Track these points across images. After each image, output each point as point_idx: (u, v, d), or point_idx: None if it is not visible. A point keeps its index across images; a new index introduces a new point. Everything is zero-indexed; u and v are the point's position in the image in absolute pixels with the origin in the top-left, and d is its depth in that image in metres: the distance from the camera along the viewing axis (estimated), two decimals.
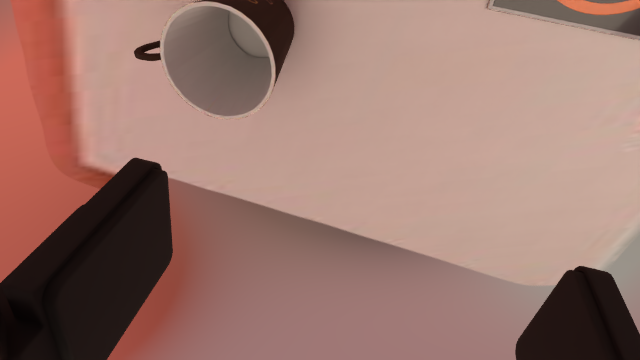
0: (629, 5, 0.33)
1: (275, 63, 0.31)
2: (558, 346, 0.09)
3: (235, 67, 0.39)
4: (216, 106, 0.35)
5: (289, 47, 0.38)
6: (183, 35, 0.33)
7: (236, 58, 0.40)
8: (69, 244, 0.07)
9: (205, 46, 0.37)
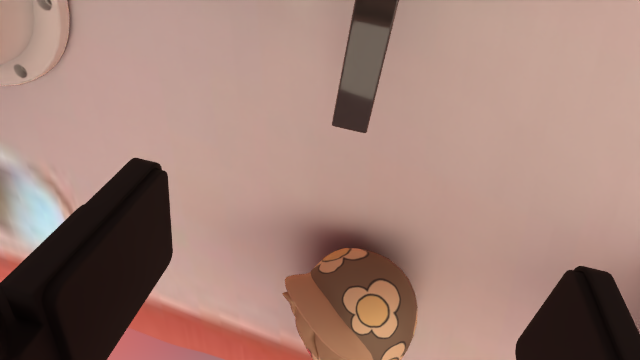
0: None
1: None
2: (558, 346, 0.09)
3: None
4: None
5: None
6: None
7: None
8: (69, 244, 0.07)
9: None
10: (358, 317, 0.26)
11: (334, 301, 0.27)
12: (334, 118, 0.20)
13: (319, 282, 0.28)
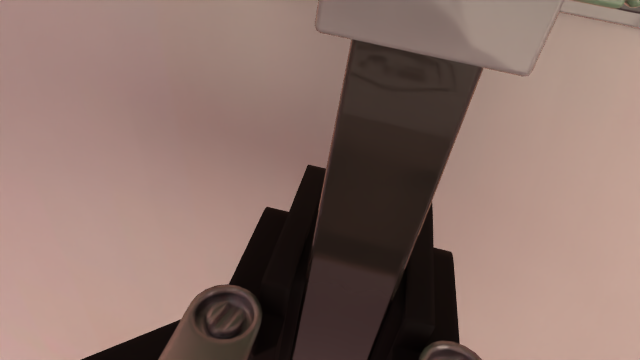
0: None
1: None
2: None
3: None
4: None
5: None
6: None
7: None
8: (296, 244, 0.08)
9: None
10: None
11: None
12: None
13: None
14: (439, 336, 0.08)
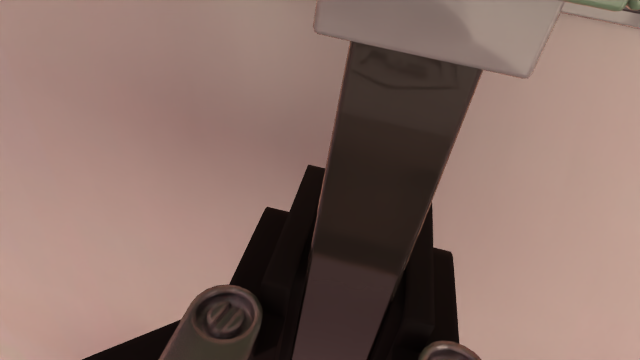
0: None
1: None
2: None
3: None
4: None
5: None
6: None
7: None
8: (296, 245, 0.08)
9: None
10: None
11: None
12: None
13: None
14: (439, 336, 0.08)
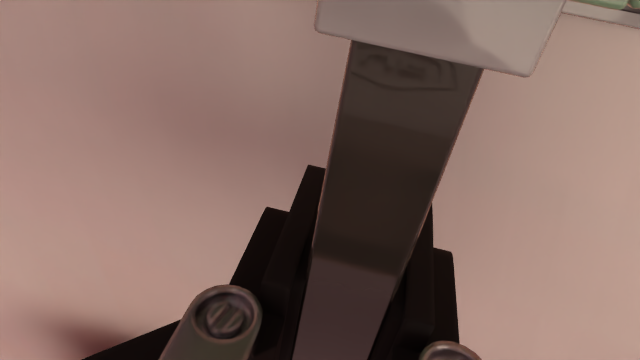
0: None
1: None
2: None
3: None
4: None
5: None
6: None
7: None
8: (296, 244, 0.08)
9: None
10: None
11: None
12: None
13: None
14: (439, 336, 0.08)
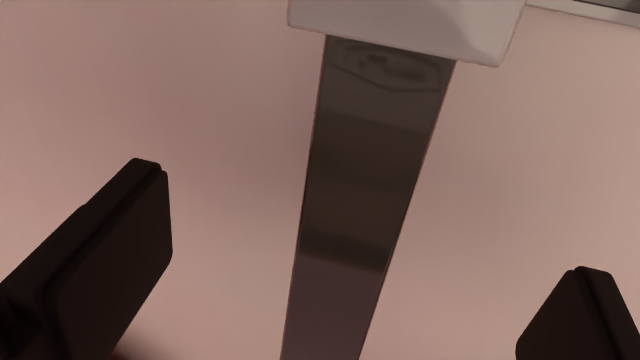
0: None
1: None
2: (558, 346, 0.09)
3: None
4: None
5: None
6: None
7: None
8: (69, 244, 0.07)
9: None
10: None
11: None
12: None
13: None
14: None
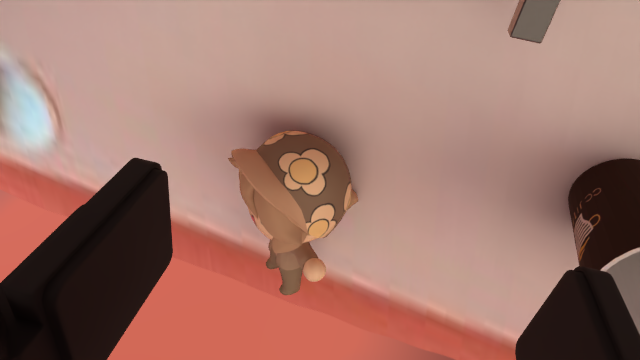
0: None
1: None
2: (558, 346, 0.09)
3: None
4: None
5: None
6: None
7: None
8: (69, 244, 0.07)
9: (628, 270, 0.31)
10: (290, 175, 0.30)
11: (271, 163, 0.31)
12: (514, 29, 0.22)
13: (261, 152, 0.32)
14: None
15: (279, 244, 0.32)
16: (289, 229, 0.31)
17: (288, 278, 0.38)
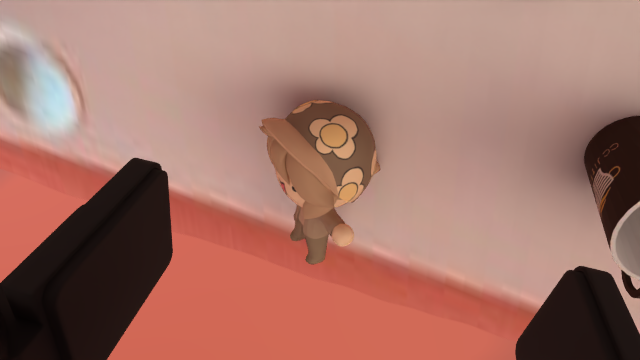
0: None
1: None
2: (558, 346, 0.09)
3: None
4: None
5: None
6: (632, 249, 0.31)
7: None
8: (69, 244, 0.07)
9: None
10: (321, 140, 0.31)
11: (302, 130, 0.32)
12: None
13: (290, 120, 0.33)
14: None
15: (310, 209, 0.33)
16: (321, 192, 0.32)
17: (314, 247, 0.39)
